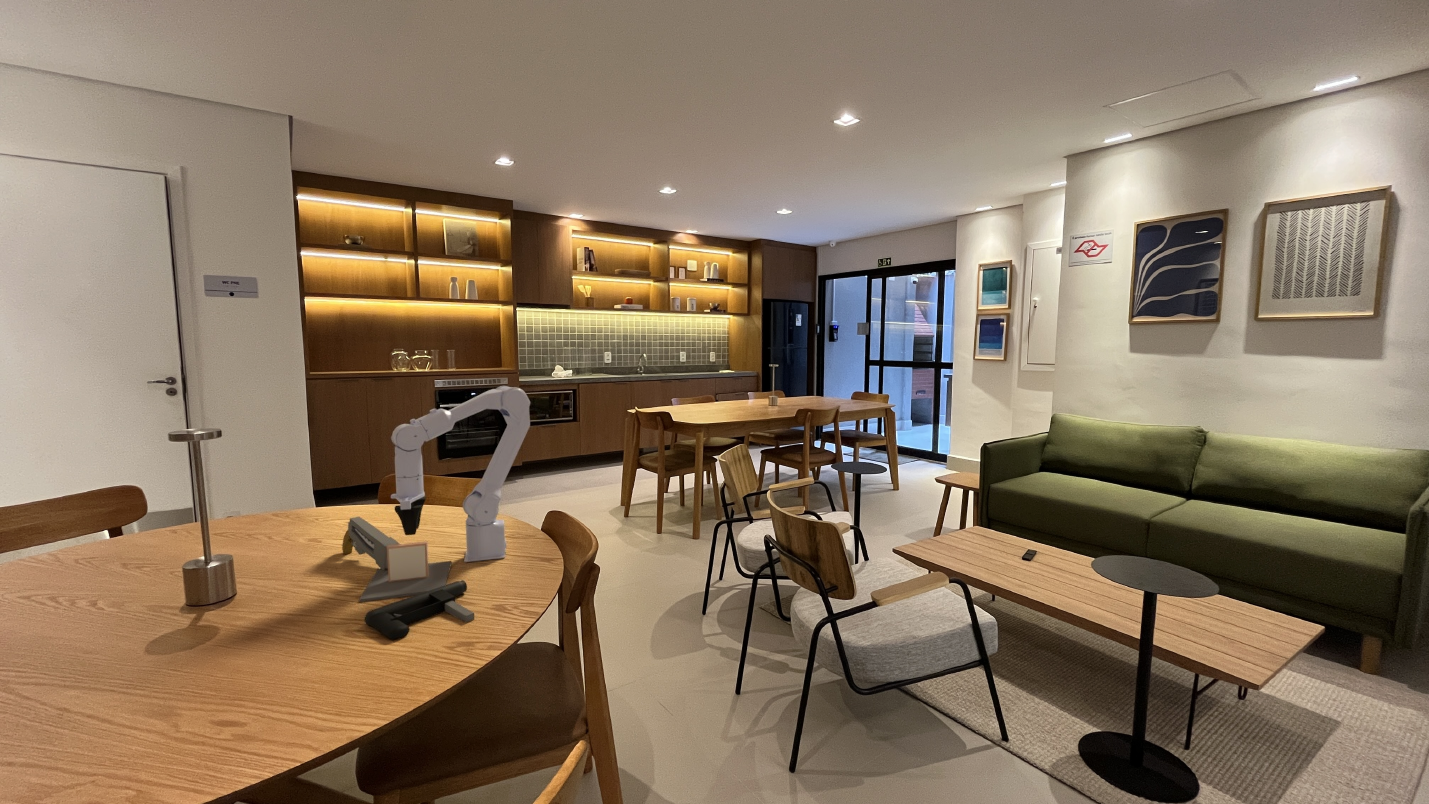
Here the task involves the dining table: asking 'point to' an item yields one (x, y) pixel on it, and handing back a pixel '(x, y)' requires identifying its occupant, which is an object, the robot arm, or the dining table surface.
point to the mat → (405, 583)
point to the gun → (367, 541)
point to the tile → (407, 561)
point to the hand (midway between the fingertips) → (412, 531)
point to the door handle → (418, 610)
